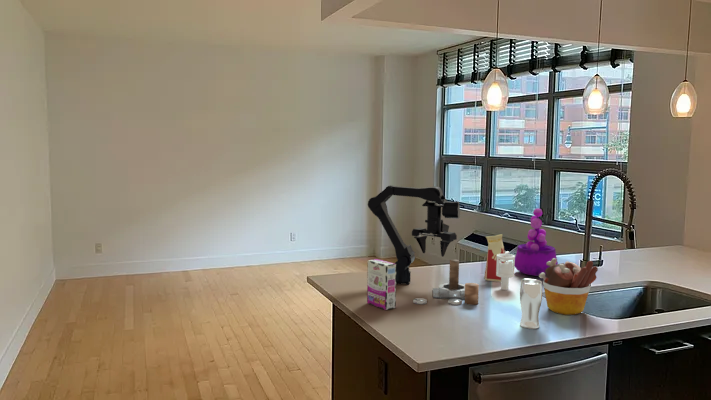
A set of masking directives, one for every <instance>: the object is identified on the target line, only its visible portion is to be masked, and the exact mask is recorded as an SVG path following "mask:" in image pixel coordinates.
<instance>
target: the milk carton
mask: <svg viewBox="0 0 711 400" xmlns="http://www.w3.org/2000/svg"><path fill="white" fill-rule="evenodd" d="M485 238H486V240H487V244H488V245H487V255H486V264H485V269H484V277H483V279H484V280H485V281H490V282H500V283H501V277H498V276H496V265H497V254H505V252H506V250H505V246H504V242H503V233H501V234H496V235H492V236H491V235H490V236H489V235H488V236H485ZM499 260H501V259H499ZM498 262H499V261H498ZM505 262H507V261H504V262H502V261H501V263H505Z"/></svg>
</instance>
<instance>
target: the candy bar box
mask: <svg viewBox="0 0 711 400" xmlns="http://www.w3.org/2000/svg"><path fill="white" fill-rule="evenodd" d="M394 263H395V262H394ZM394 263H393V262H390V261H386V260H382V259H379V258H378V259H377V258H375V259H370V260H369V259H368V260H367V279H366V280H367V285H366V286H367V290H366V292H367V295H366V296H367V297H366V302H367V304H368V305H371V306H374V307H377V308H379V309H382V310H384V311H390V310H393V309H396V305H397V304H396V303H397V301H396V299H397V284H396V264H394Z"/></svg>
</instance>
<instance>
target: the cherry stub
mask: <svg viewBox="0 0 711 400" xmlns="http://www.w3.org/2000/svg"><path fill="white" fill-rule="evenodd" d="M464 285H465V299H464V304H465V305H469V306H475V305H476V306H477V305H478V304H479V291H480V290H479V288H480V286H479V285H480V284H479V283H476V282H466V283H465V284H464Z"/></svg>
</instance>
